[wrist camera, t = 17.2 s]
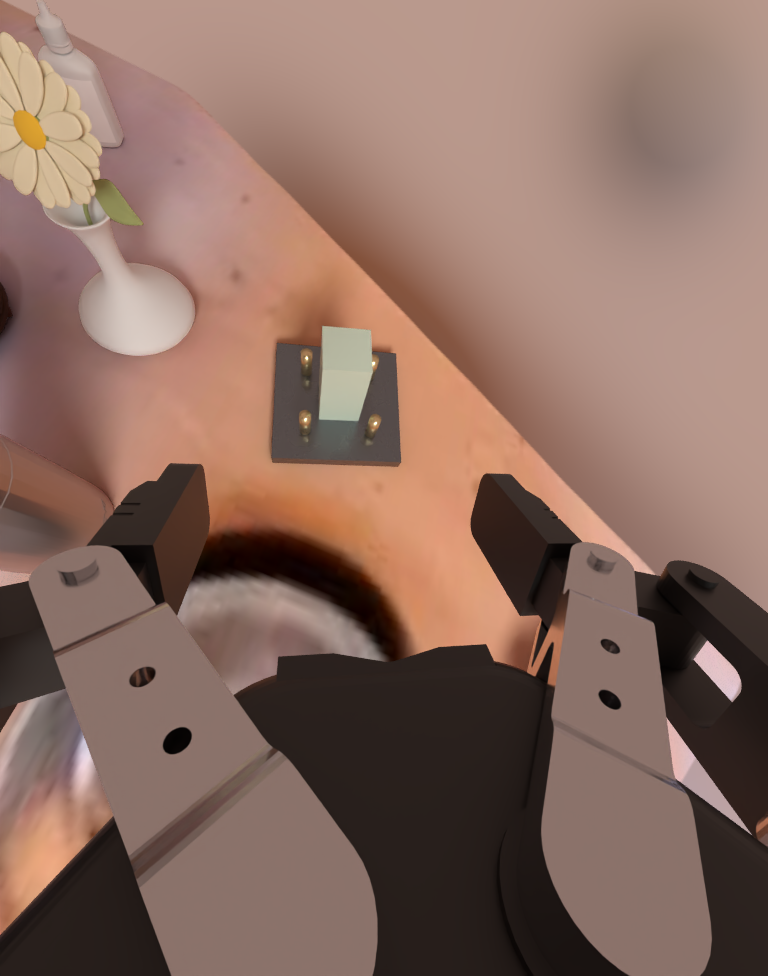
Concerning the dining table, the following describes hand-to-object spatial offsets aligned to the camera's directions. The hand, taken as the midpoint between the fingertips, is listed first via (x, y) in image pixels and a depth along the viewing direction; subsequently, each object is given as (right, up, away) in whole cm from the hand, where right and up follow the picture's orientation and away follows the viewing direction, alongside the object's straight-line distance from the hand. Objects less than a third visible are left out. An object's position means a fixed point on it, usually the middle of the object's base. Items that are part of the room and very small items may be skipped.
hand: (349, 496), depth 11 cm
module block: (-4, +10, +33) cm, 35 cm away
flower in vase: (-25, +19, +33) cm, 46 cm away
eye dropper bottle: (-35, +45, +38) cm, 69 cm away
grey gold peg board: (-5, +10, +34) cm, 36 cm away
